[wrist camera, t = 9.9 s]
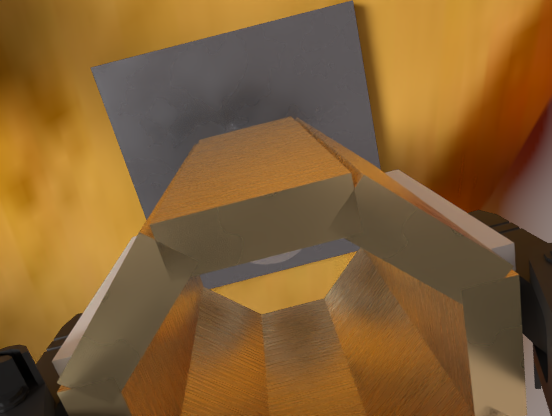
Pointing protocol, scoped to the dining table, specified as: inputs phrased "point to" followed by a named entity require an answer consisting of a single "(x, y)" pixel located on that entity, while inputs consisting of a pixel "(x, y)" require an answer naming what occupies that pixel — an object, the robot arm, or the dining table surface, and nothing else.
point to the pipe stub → (241, 104)
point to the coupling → (306, 317)
